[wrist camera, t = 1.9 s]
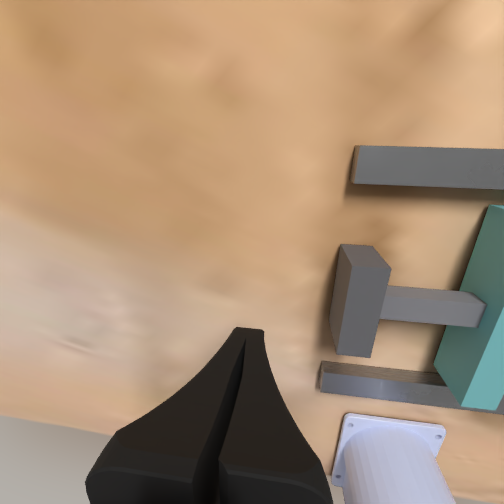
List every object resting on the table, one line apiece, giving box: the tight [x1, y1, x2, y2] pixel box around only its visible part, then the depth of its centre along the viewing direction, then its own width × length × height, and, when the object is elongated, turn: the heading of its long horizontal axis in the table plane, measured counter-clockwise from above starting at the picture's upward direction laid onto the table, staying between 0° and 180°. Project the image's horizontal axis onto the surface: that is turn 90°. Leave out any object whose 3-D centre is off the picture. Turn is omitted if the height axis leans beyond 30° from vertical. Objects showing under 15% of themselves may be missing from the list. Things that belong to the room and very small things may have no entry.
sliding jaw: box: [329, 205, 504, 411], centre depth 17 cm, size 12×10×4 cm
